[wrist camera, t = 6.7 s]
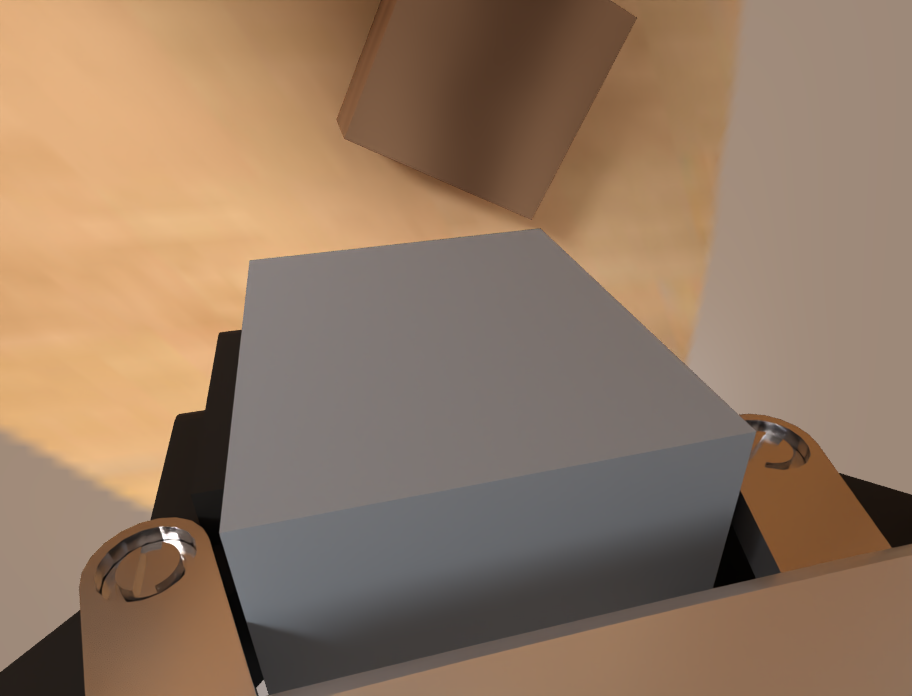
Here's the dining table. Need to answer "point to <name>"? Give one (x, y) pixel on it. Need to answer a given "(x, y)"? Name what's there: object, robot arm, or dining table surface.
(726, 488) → the slate block
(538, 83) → the walnut base
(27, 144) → the dining table surface
